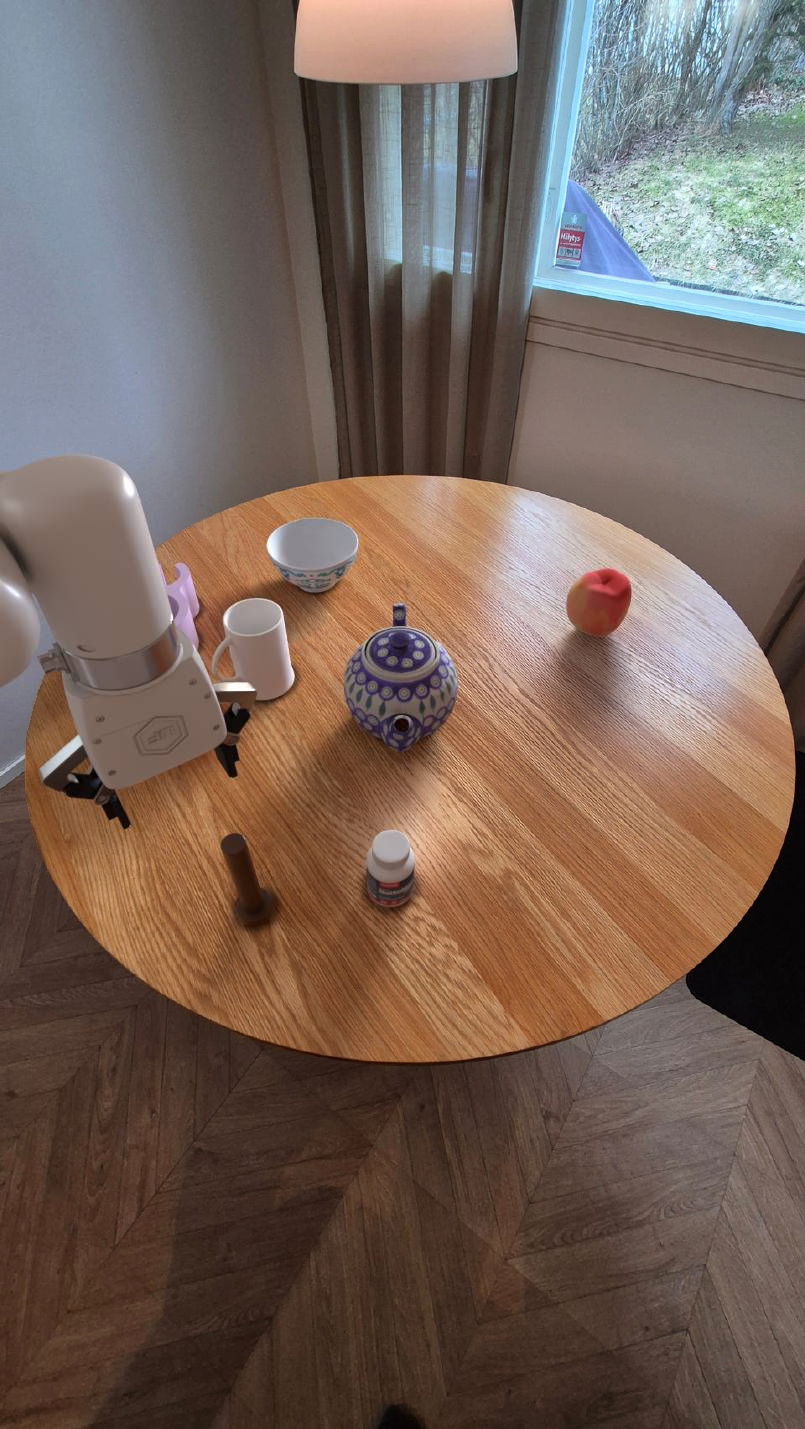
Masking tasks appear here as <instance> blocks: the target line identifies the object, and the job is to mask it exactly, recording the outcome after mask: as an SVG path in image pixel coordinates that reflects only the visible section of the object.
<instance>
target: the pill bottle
mask: <svg viewBox="0 0 805 1429" xmlns="http://www.w3.org/2000/svg"><path fill="white" fill-rule="evenodd" d="M415 859H416V858H415V854H414V851H413V849H412V848H411V844H410V841H409V838H408V837H407V836H406V834H404V833H403V832H401V831H399V830H395V829H386V830H383V831H381V832H379V833H378V834H376V836H375V837H374V838H373V841H372V844H371V847H370V848H369V850H368V852H367V854H366V860H365V862H366V863H365V865H366V887H367V888H366V890H367V893H368V895H369V897H370V899H372V901H373V902H374V903H376V904H378V905H379V906H382V907H386V908H396V907H398V906H401V905H403V904H404V903H406V902H407V901H408V900H409V899H410V897H411V895H412V894H413V890H414V883H415V882H414V881H415V865H416V864H415V863H416V860H415Z"/></svg>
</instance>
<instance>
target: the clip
mask: <svg viewBox="0 0 805 1429" xmlns="http://www.w3.org/2000/svg"><path fill="white" fill-rule="evenodd" d="M158 565H159V568H160V572H161V575H162V579H163V582H164V586H165V589H166V593H167V596H168V600H169V603H170V607H171V611H172V614H173V617H174V621H175V624H176V628H177V629H179V630H180V631H182V632H183V633H184V634H185V635H186V636H187V637H188V638H189V639H190V640H191V642H192V643H193V645H194V646H195V648H196V650H197V651H198V648H199V646H200V644H199V643H200V641H199V637H198V634H197V630H196V626H195V622H194V619H195V618H196V617H197V615H198V614H199V612H200V604H199V600H198V597H197V592H196V589H195V586H194V582H193V579H192V578H193V577H192V574H191V571H190V568H189V566H187V564H185V563H183V562H177V563H176V564H174V567H175V572H176V574H177V578H178V579H177V580H175V581H174V582H172V583H170V584H167V582H166V579H165V576H164V572H163V569H162V565H161V563H160V561H158Z"/></svg>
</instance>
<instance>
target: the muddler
mask: <svg viewBox="0 0 805 1429" xmlns="http://www.w3.org/2000/svg"><path fill="white" fill-rule="evenodd" d="M220 850H221V852H222V855H223V857H224V861H225V864H226V866H227V869H228V872H229V874H230V877H231V880H232V882H233V885H234V889H235V891H236V893H237V899H236V900H235V903H234V909H235V913H236V915H237V918H238V920H239V921H240V923H242V924H243V926H245V927H249V928H256V927H260V926H263V925H264V924H266V923H267V922H268V921H269V920H270V919H271V918H272V916H273V914H274V910H275V906H274V901H273V897H272V895H271V894H270V892H269V891H268V890H267V889H265V888H263V887H261V884H260V881H259V878H258V874H257V871H256V868H255V865H254V862H253V859H252V855H251V853H250V849H249V845H248V842H247V839H246V837H245V836H244V834H241V833H238V832H232V833H229V834H227V835H226V836H224V837H223V838H222V840H221V842H220Z"/></svg>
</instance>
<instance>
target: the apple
mask: <svg viewBox="0 0 805 1429" xmlns="http://www.w3.org/2000/svg"><path fill="white" fill-rule="evenodd" d="M632 593H633V592H632V584H631V581H630V579H629V578H628V577H627V576H626V575H625V574H623V573H622V572H620V571H618V570H616V569H614V568H611V567H609V568H608V567H605V568H600V569H596V570H592V571H588V572H585V573H584V574H583V575H581V576H580V577H579V578H578V579H577V580H575V582H574V583H573V584H571V587H570V588H569V591H568V592H567V595H566V602H565V609H566V614H567V617H568V620H569V622H570V623H571V625H572V626H573V627H574V628H576V629H577V630H578V631H580V632H582V633H583V634H584V635H585V634H586V635H588V636H590V637H595V638H604V637H607V636H609V635H611V634H612V633H613V632H615V631H616V630H617V629H618V628H619V627H620V625H621V624H622V623H623V621H624V620H625V618H626V616H627V614H628V611H629V609H630V606H631V603H632V602H631V601H632V596H633V595H632Z"/></svg>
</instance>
